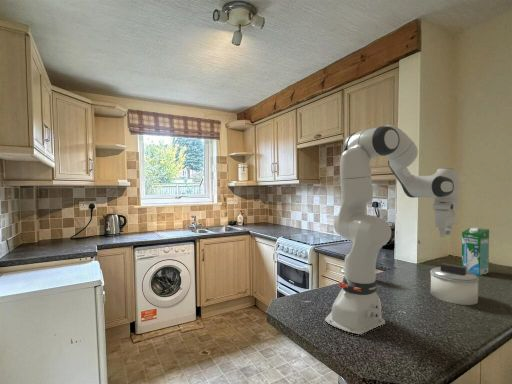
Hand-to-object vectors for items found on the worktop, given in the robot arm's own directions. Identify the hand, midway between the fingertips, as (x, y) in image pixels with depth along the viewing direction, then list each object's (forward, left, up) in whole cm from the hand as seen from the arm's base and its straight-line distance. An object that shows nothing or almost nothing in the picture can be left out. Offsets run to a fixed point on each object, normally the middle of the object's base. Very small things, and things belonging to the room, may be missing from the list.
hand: (445, 235), depth 122 cm
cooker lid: (+1, -3, -17) cm, 17 cm away
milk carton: (+51, -4, -27) cm, 58 cm away
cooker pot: (+1, -3, -27) cm, 27 cm away
